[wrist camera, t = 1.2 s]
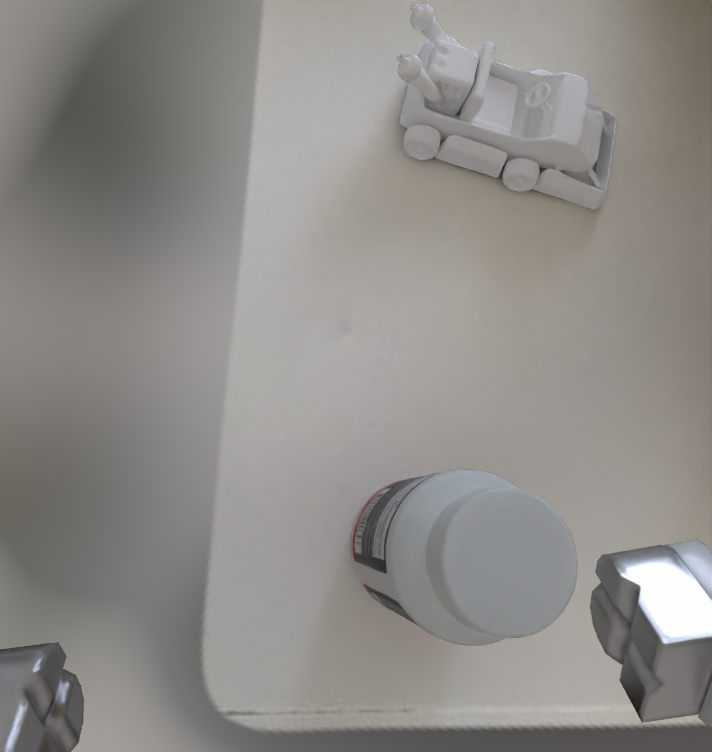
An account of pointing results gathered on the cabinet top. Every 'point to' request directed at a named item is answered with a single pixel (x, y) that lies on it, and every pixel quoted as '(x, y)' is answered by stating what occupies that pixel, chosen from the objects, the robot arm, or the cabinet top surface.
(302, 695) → the cabinet top surface
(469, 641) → the pill bottle
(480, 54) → the toy car
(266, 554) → the cabinet top surface
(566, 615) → the cabinet top surface
